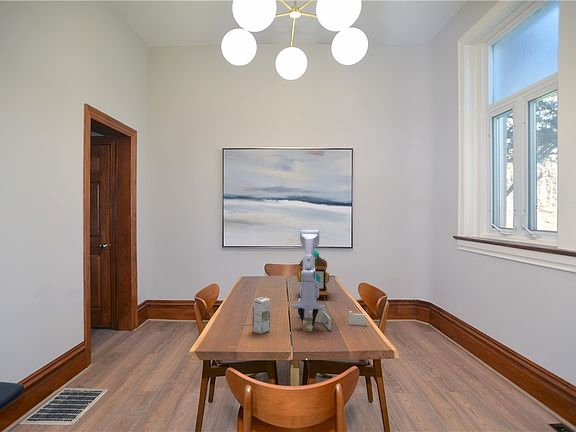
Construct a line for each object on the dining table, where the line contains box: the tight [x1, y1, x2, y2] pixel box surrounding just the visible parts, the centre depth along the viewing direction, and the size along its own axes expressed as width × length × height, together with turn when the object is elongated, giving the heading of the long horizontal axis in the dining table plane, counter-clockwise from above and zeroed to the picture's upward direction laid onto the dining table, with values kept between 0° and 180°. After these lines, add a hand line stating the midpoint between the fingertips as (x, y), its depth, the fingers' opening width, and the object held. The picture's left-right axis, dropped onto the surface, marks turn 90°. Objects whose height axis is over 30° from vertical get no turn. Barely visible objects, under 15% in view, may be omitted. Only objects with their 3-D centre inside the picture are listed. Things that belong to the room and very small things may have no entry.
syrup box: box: [251, 296, 271, 335], centre depth 151 cm, size 6×6×14 cm
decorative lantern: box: [296, 248, 331, 301], centre depth 210 cm, size 20×20×30 cm
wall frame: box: [309, 310, 366, 326], centre depth 161 cm, size 27×2×6 cm, turn 78°
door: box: [322, 310, 332, 331], centre depth 157 cm, size 11×2×5 cm, turn 8°
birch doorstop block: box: [302, 316, 314, 333], centre depth 155 cm, size 4×8×4 cm, turn 168°
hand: (308, 325), depth 155 cm, fingers closed on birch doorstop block, 4 cm apart
